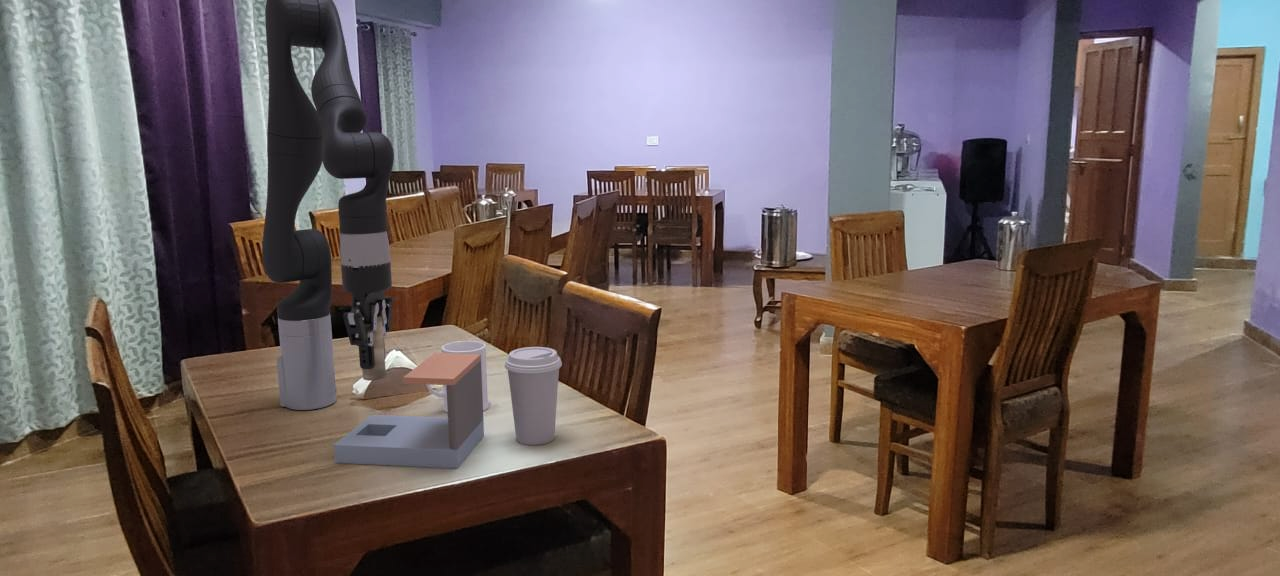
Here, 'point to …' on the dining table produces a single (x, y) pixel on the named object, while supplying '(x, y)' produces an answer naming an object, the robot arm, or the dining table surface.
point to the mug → (466, 348)
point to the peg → (377, 354)
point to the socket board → (425, 421)
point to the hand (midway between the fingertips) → (373, 364)
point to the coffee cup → (534, 393)
